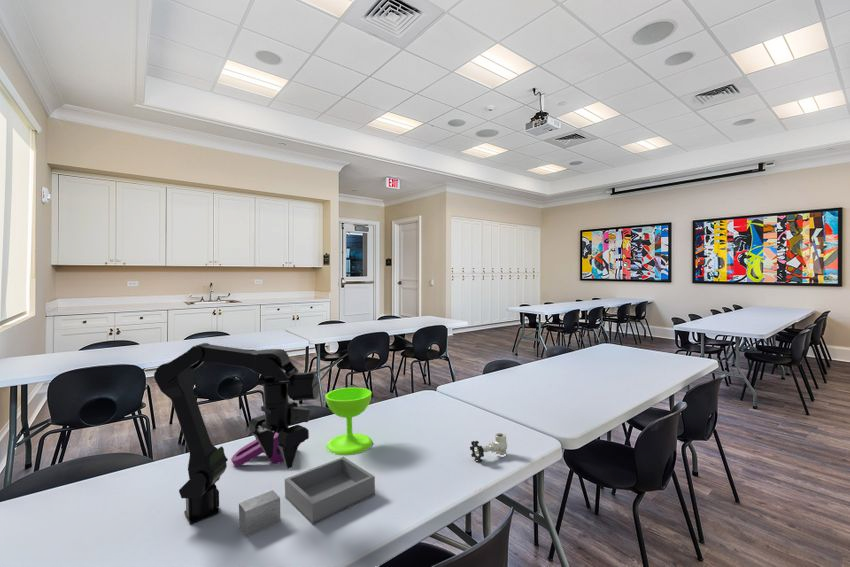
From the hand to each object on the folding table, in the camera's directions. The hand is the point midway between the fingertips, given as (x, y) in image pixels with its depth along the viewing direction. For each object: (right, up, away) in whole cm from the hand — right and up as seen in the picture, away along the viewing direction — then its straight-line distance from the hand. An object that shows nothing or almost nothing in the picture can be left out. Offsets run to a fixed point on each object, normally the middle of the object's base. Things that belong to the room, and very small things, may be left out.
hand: (279, 462), depth 96 cm
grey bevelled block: (-3, -13, -5) cm, 14 cm away
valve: (+58, -12, +27) cm, 65 cm away
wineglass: (+10, -12, +39) cm, 42 cm away
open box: (+11, -12, +7) cm, 18 cm away
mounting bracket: (-17, -13, +29) cm, 36 cm away
